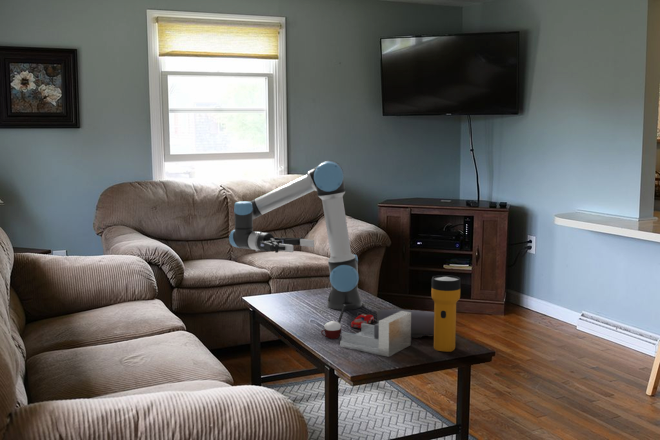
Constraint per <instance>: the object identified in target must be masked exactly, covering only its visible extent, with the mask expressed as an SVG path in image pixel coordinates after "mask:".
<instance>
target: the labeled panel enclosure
mask: <svg viewBox="0 0 660 440" xmlns="http://www.w3.org/2000/svg"><path fill="white" fill-rule="evenodd" d="M374 325H375V324H364V323H362V324H361V328H360V331H359V332H356V333H354V332H352V333H351V332H347V331H341V340H340V341H339V343H340V344H339V346H340V347H341V348H346V349H351V350H354V351H360V352H365V353H370V354H373V355H378V356H383V357H388V358H389V357H391V356H393V355H395V354H397V353H398V352H400V351H402V350H405V348H408V347H409V346H411V344H412V343H411V342H412V337H411V312H406V311H400V312H398V313H395V314H393V315H391V316H389V317H387V318H384V319H382V320H380V321H379V339H378V338H374Z"/></svg>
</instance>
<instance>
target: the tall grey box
mask: <svg viewBox="0 0 660 440" xmlns="http://www.w3.org/2000/svg"><path fill="white" fill-rule="evenodd" d="M373 325H374V338H378V339H379V323H377V322H376V323H375V324H373Z"/></svg>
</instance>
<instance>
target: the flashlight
mask: <svg viewBox="0 0 660 440" xmlns="http://www.w3.org/2000/svg"><path fill="white" fill-rule="evenodd" d="M461 282H462V281H461V277H458V276H457V275H456V276H455V275H448V274H440V275H439V274H438V275H433V276H432V278H431V292H430V293H431V300H432V301H433V302H434V304H433V305H434V307H433V308H434V309H433V312H434V335H433V350H435V351H438V352H446V353H449V352H450V353H451V352H453V351H455V349H456V335H457V334H456V333H457V332H456V331H457V330H456V329H457V327H456V326H457V302H459V300H460V298H461Z"/></svg>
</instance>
